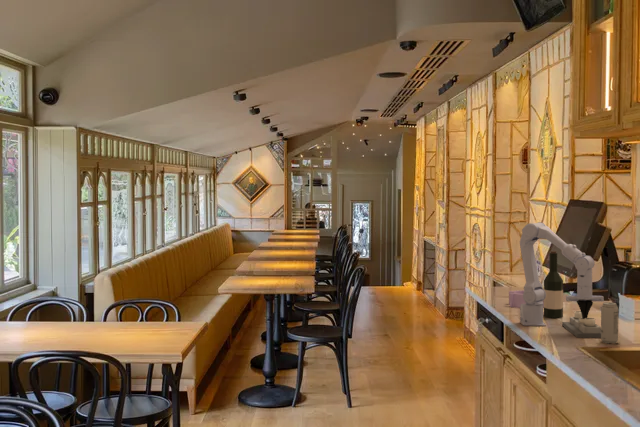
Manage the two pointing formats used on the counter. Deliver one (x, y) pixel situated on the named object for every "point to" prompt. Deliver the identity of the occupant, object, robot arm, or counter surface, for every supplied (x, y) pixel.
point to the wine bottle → (553, 290)
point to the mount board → (582, 329)
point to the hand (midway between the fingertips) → (584, 318)
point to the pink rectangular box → (517, 298)
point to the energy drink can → (609, 322)
